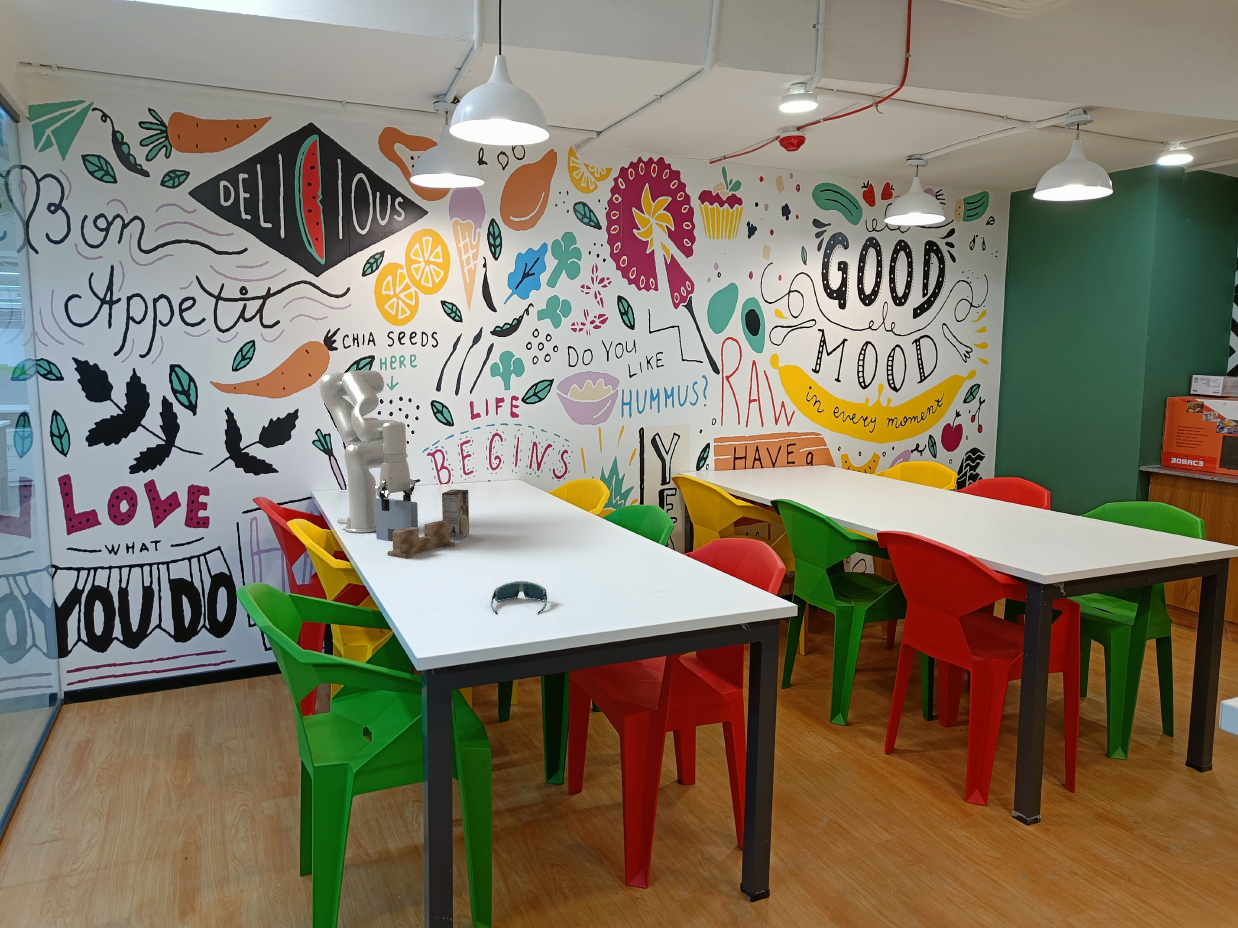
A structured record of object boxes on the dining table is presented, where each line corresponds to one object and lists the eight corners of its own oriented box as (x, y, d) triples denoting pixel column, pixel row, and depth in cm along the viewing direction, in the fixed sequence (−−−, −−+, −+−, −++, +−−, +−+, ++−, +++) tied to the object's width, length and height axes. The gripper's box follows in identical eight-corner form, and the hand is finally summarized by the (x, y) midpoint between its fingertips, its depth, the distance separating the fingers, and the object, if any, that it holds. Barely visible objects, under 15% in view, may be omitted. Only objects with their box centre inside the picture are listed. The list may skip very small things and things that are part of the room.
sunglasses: (548, 597, 225) (548, 580, 224) (545, 622, 211) (545, 604, 210) (494, 598, 225) (494, 580, 223) (488, 623, 210) (487, 604, 209)
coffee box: (452, 533, 304) (451, 488, 302) (469, 534, 302) (469, 489, 300) (442, 538, 295) (441, 492, 293) (459, 539, 293) (459, 493, 291)
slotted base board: (405, 558, 266) (404, 533, 265) (387, 555, 270) (386, 530, 269) (454, 545, 284) (454, 522, 283) (437, 542, 289) (436, 519, 288)
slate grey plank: (418, 543, 287) (417, 502, 286) (411, 544, 285) (410, 503, 283) (383, 537, 296) (382, 497, 295) (376, 538, 294) (375, 498, 292)
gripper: (406, 455, 296) (407, 504, 298) (367, 460, 282) (368, 511, 284) (421, 456, 292) (423, 506, 294) (382, 461, 278) (384, 513, 280)
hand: (396, 508), depth 289 cm, fingers open, 9 cm apart
